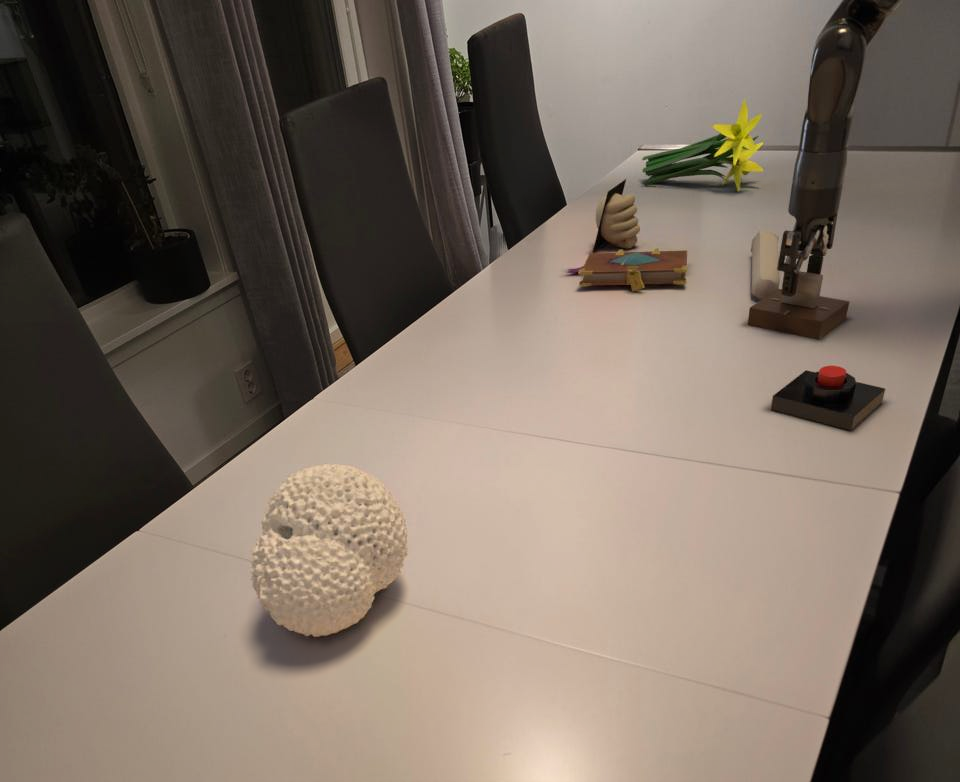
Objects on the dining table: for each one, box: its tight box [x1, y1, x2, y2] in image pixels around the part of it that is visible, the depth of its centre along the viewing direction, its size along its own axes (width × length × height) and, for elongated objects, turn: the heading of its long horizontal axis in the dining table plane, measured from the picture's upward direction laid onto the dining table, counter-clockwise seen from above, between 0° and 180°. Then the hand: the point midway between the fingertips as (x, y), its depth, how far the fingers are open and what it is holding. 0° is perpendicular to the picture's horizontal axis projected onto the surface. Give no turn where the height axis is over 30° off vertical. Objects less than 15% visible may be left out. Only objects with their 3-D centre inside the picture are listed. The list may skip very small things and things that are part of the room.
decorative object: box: [592, 178, 641, 253], centre depth 179 cm, size 13×10×10 cm
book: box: [567, 248, 688, 292], centre depth 166 cm, size 16×25×5 cm, turn 77°
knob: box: [781, 270, 824, 308], centre depth 140 cm, size 6×2×5 cm, turn 47°
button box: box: [770, 369, 886, 432], centre depth 119 cm, size 12×10×4 cm
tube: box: [750, 230, 781, 301], centre depth 159 cm, size 5×5×25 cm
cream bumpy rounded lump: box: [250, 463, 409, 638], centre depth 93 cm, size 20×18×16 cm
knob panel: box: [747, 288, 850, 340], centre depth 143 cm, size 13×10×3 cm
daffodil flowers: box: [642, 98, 764, 193], centre depth 206 cm, size 17×15×35 cm
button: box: [817, 365, 847, 387], centre depth 118 cm, size 4×4×2 cm
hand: (800, 287), depth 140 cm, fingers open, 8 cm apart
